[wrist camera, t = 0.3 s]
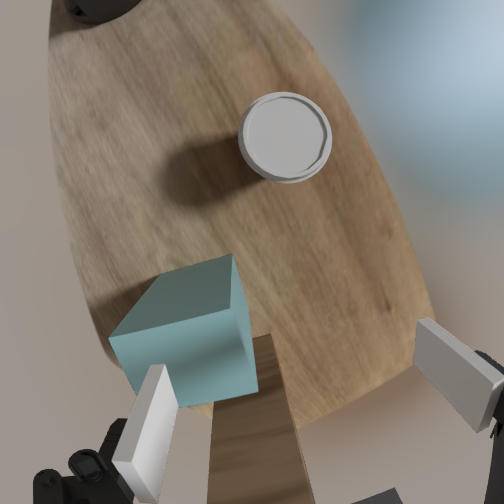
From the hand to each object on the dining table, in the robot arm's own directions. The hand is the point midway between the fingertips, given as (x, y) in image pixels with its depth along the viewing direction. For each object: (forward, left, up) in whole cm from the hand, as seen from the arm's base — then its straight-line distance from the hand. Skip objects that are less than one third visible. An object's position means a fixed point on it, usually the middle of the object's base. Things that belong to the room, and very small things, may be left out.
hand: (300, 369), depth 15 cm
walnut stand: (+15, -5, -29) cm, 33 cm away
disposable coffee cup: (-13, +6, -29) cm, 32 cm away
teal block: (+3, -9, -29) cm, 30 cm away
